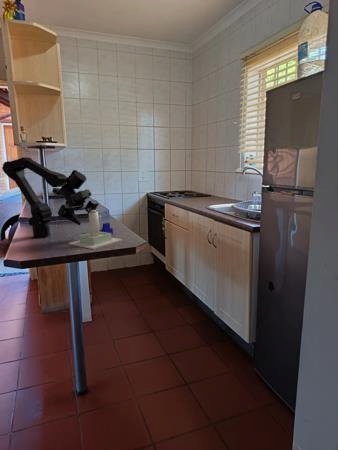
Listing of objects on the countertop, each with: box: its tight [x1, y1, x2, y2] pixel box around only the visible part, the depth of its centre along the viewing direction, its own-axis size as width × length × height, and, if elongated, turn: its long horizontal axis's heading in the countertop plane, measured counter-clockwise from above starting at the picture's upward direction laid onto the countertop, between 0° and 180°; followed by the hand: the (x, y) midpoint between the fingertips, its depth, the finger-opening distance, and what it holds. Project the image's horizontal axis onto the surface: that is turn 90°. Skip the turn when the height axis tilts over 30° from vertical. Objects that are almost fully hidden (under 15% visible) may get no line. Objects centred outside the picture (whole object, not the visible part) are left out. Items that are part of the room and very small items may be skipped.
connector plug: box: [88, 210, 101, 237], centre depth 130 cm, size 5×5×14 cm
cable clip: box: [100, 222, 114, 235], centre depth 149 cm, size 12×4×6 cm, turn 50°
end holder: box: [68, 232, 123, 250], centre depth 131 cm, size 16×16×4 cm
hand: (88, 222), depth 132 cm, fingers open, 9 cm apart
